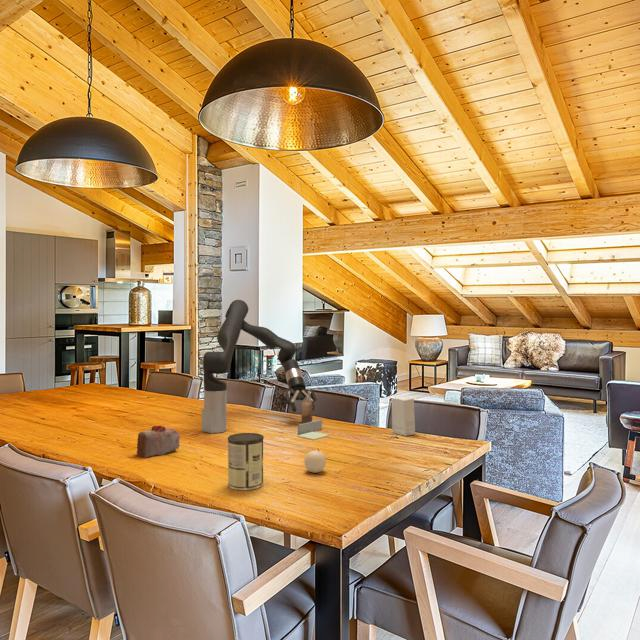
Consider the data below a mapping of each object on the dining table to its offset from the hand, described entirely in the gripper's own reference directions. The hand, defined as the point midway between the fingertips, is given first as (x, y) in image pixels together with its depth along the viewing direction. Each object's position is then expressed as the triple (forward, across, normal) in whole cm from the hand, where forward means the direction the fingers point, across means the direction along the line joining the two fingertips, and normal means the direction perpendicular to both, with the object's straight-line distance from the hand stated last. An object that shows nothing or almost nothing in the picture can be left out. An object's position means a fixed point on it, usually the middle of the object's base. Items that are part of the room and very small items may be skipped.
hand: (304, 410), depth 239 cm
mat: (+18, +4, +10) cm, 21 cm away
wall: (+13, +2, +4) cm, 14 cm away
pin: (+7, 0, -2) cm, 7 cm away
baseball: (+49, +24, +42) cm, 69 cm away
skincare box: (+25, -32, +18) cm, 44 cm away
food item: (+21, +65, +10) cm, 69 cm away
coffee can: (+52, +48, +44) cm, 83 cm away
